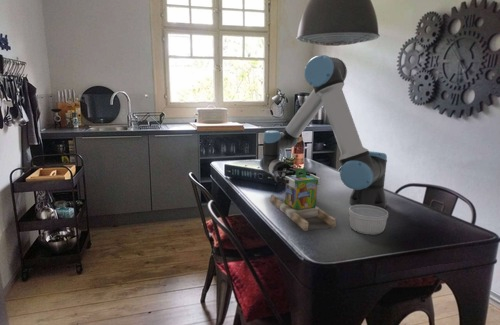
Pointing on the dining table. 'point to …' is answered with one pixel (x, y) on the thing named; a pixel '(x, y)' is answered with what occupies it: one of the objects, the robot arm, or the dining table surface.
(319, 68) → the robot arm
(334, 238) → the dining table surface
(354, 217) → the ramekin
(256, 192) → the dining table surface
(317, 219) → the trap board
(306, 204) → the chalk box
